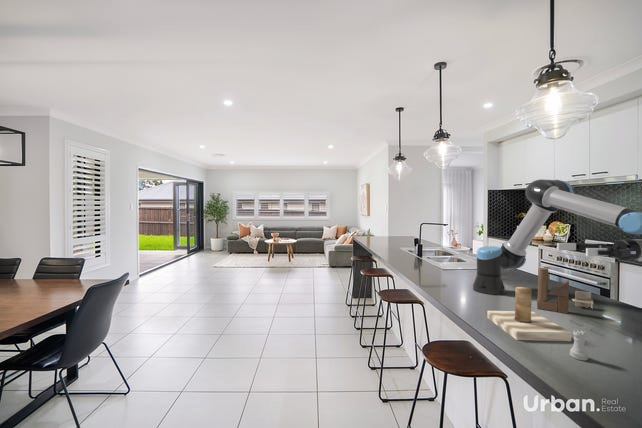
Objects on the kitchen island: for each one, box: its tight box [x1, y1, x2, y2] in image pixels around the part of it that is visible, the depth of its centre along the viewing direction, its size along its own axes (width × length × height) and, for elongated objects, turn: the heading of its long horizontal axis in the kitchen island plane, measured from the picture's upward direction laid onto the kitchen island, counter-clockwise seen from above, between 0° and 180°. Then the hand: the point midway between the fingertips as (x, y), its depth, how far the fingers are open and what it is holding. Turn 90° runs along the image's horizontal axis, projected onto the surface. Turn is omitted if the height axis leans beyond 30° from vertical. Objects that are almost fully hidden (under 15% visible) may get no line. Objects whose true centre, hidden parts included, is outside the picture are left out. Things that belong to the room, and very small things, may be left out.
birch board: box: [486, 310, 573, 342], centre depth 112 cm, size 20×18×3 cm
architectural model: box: [571, 290, 595, 310], centre depth 135 cm, size 3×7×7 cm, turn 63°
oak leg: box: [514, 286, 533, 323], centre depth 112 cm, size 5×5×15 cm
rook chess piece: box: [569, 329, 590, 362], centre depth 91 cm, size 4×4×8 cm
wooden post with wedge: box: [536, 267, 570, 314], centre depth 132 cm, size 4×11×18 cm, turn 55°
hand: (571, 249), depth 110 cm, fingers open, 13 cm apart
